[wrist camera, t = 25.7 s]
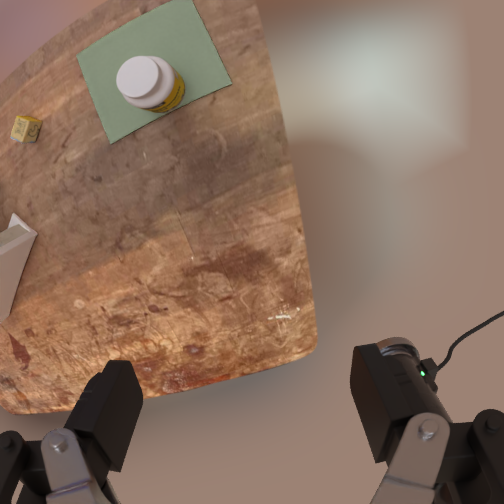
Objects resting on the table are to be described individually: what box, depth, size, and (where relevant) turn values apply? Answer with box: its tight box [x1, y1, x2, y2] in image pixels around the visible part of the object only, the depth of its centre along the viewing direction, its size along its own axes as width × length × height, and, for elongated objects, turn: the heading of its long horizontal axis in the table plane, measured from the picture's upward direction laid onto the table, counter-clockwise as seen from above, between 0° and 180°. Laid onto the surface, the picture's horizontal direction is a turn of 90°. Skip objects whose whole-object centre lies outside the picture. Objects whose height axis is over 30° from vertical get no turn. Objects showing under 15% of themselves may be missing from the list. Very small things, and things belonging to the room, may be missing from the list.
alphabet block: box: [11, 116, 42, 143], centre depth 31 cm, size 3×3×3 cm
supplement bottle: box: [116, 56, 186, 113], centre depth 27 cm, size 5×5×10 cm
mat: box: [76, 0, 232, 144], centre depth 31 cm, size 16×14×1 cm
